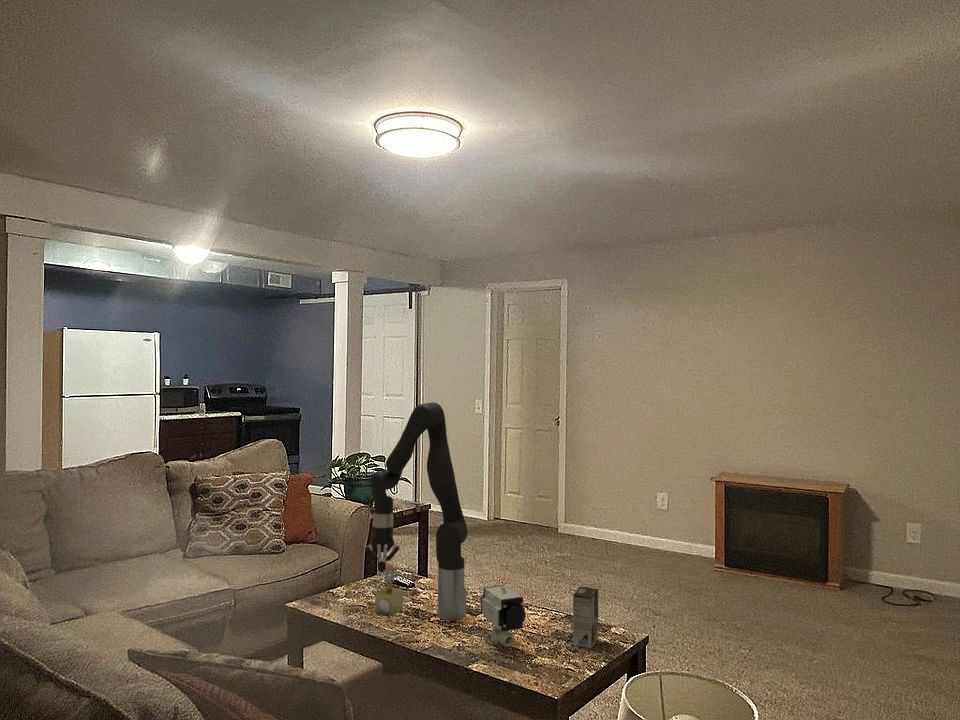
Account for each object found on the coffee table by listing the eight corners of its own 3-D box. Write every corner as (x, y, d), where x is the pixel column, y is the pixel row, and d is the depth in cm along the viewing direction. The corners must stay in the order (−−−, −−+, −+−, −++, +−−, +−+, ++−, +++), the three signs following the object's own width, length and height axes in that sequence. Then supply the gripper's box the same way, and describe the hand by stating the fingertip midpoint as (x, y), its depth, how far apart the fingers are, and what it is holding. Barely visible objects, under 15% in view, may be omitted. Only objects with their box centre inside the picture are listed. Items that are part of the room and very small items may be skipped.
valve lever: (394, 582, 252) (394, 575, 252) (384, 582, 251) (385, 575, 251) (393, 570, 266) (393, 563, 266) (385, 570, 266) (385, 563, 266)
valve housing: (403, 608, 256) (404, 579, 256) (391, 616, 247) (391, 586, 247) (387, 605, 258) (387, 577, 258) (373, 613, 250) (374, 584, 250)
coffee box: (579, 635, 232) (579, 585, 232) (598, 638, 230) (599, 588, 230) (571, 645, 224) (572, 594, 224) (591, 648, 221) (592, 597, 222)
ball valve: (476, 635, 231) (477, 580, 231) (499, 631, 235) (500, 577, 235) (501, 656, 215) (502, 597, 215) (526, 651, 218) (526, 594, 218)
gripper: (364, 527, 258) (362, 574, 258) (400, 527, 259) (399, 574, 259) (365, 522, 265) (364, 568, 265) (401, 522, 267) (399, 568, 267)
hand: (381, 571), depth 262 cm, fingers closed
